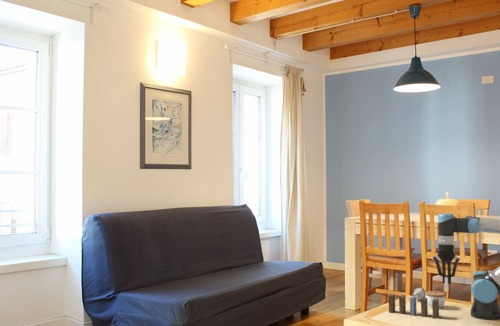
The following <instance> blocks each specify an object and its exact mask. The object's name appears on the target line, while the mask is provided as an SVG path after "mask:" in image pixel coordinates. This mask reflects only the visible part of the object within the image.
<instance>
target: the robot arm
mask: <svg viewBox="0 0 500 326" xmlns="http://www.w3.org/2000/svg"><path fill="white" fill-rule="evenodd" d="M437 216H438V218H437V227H438V228H437V229H438V231H437V232H438V233H437V234H438V235H437V236H438V237H437V238H438V252H437V255H435V256H433V257H432V259H433V260H434V261H435V266H436V269H437V272H438V276H440V277H441V278H442V284H444V291H446V292H447V291H449V290H450V285H451V283H452V278H454V277H455V275H456V273H457V272H456V271H457V268H458V264H459V262H460V260H461V258H460V257H457V256H456V253H455V233H460V234H479V233H488V234H499V235H500V218H489V217H478V216H477V217H476V216H471V215H466V216H464V217H455V216H454V214H453V213H439V214H438V215H437ZM453 260H454V263H453V267H452V261H453ZM440 261H441V264H440ZM441 266H442V268H441ZM446 266H447V267H446ZM446 270H447V271H446ZM472 278H473V281H472V284H471V289H470V290H471V294H472V296H473V302H472V305H471V308H470V316H471V317H474V318H475V319H482V320H488V321H489V320H491V321H492V320H493V321H496V320H497V321H498V320H500V303H499V301H500V300H499V296H500V265H499V266H498V267H496V268H495V269H493V270H487V271H483V270H482V271H481V270H480V271H479V270H478V271H477V270H476V271H473V275H472Z"/></svg>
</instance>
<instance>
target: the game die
mask: <svg viewBox="0 0 500 326" xmlns="http://www.w3.org/2000/svg"><path fill="white" fill-rule="evenodd" d="M425 292H427V290H426V289H424V288H423V287H416V286H414V291H413V294H412V295H411V297H412V296H416V301H417V302H420V301H421V299H422V298H423V297H425Z"/></svg>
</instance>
